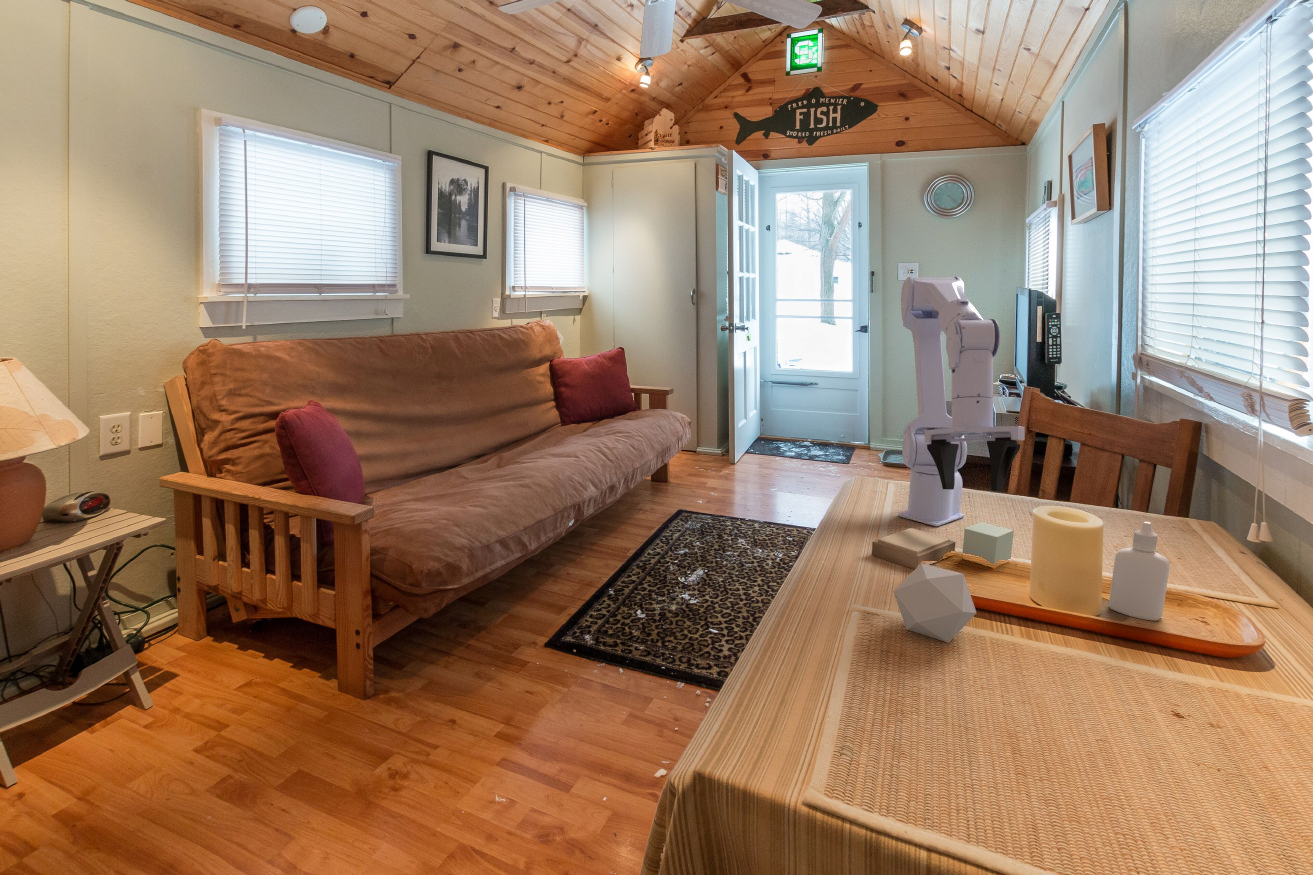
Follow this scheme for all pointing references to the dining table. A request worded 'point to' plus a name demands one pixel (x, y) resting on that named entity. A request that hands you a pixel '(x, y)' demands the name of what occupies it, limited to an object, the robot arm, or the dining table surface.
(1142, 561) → the eye dropper bottle
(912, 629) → the die
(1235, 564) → the dining table surface
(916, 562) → the plinth
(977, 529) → the sage block
